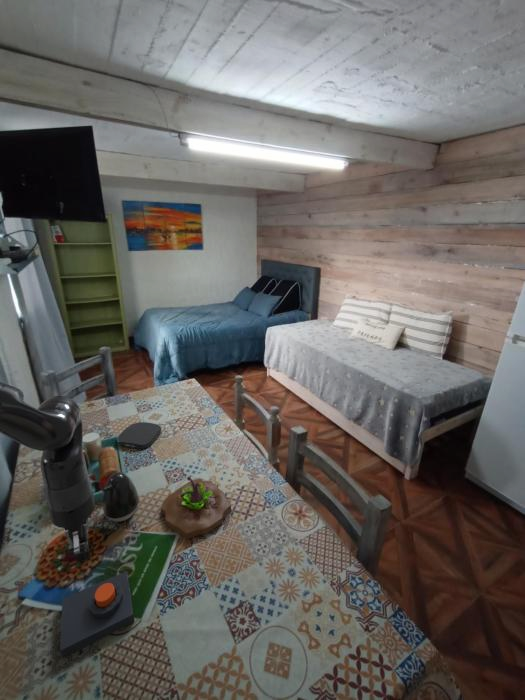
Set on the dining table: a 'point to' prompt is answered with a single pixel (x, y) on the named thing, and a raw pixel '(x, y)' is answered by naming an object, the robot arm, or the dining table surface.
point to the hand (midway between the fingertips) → (83, 557)
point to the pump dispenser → (119, 497)
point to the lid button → (105, 595)
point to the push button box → (94, 615)
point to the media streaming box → (139, 435)
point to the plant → (195, 508)
